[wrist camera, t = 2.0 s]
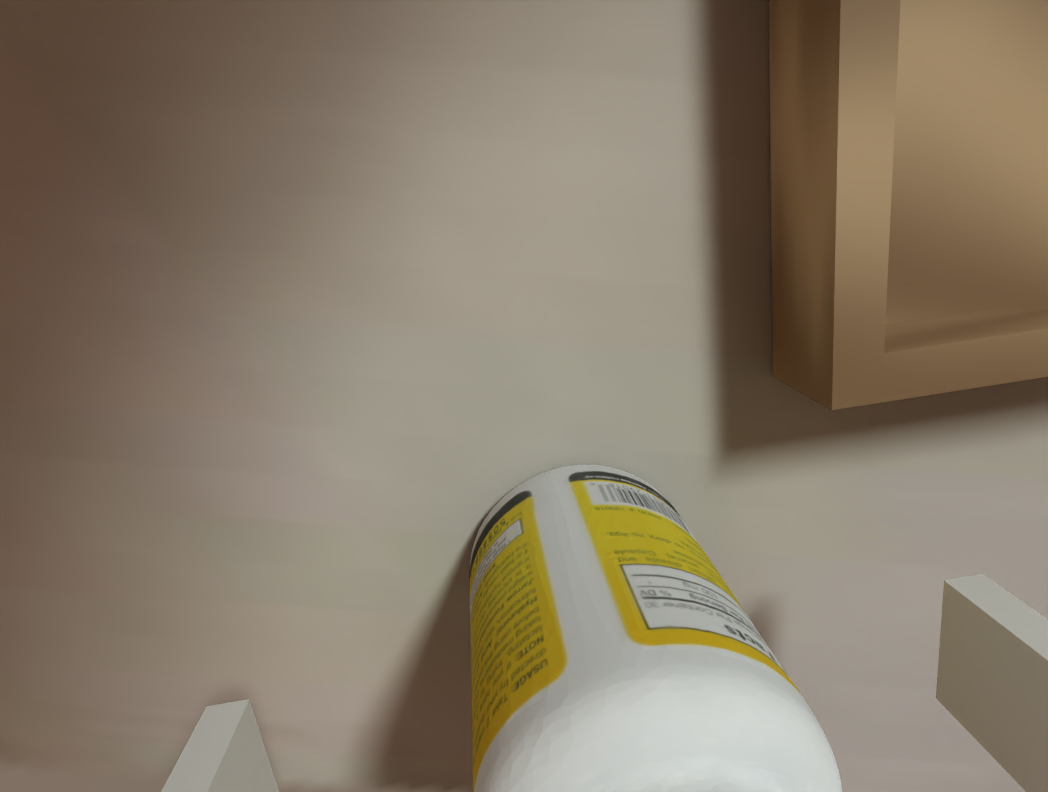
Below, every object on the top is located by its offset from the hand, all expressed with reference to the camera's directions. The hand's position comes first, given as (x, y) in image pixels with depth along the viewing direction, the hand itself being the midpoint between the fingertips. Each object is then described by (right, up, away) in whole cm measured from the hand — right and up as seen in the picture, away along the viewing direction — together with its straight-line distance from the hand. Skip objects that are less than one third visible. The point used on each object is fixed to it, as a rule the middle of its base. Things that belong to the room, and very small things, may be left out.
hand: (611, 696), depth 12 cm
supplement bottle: (0, +2, +4) cm, 4 cm away
